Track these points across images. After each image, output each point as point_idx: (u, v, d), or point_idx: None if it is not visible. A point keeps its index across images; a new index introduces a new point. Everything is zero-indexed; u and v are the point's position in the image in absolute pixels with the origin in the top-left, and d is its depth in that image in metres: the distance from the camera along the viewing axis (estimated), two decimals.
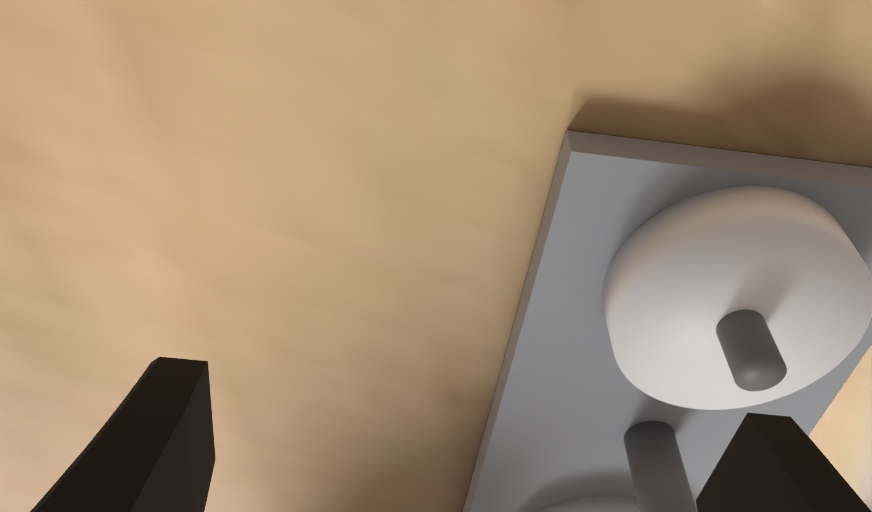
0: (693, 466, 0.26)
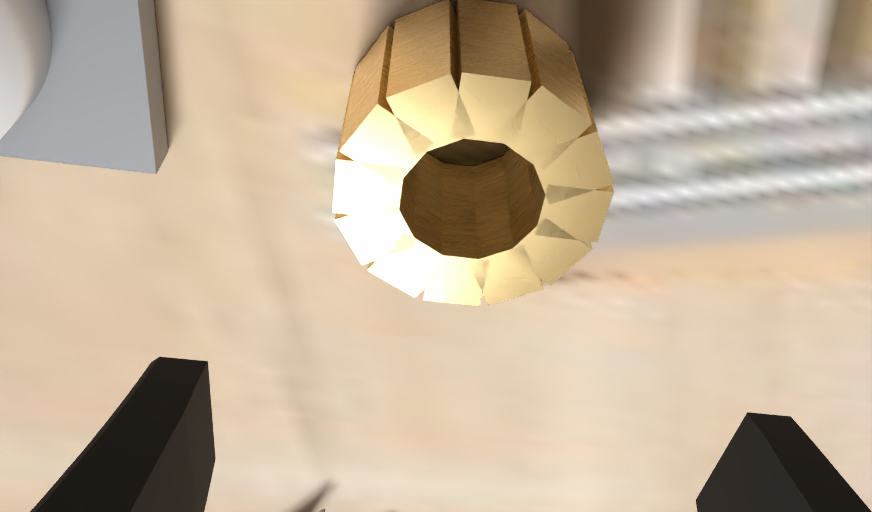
0: None
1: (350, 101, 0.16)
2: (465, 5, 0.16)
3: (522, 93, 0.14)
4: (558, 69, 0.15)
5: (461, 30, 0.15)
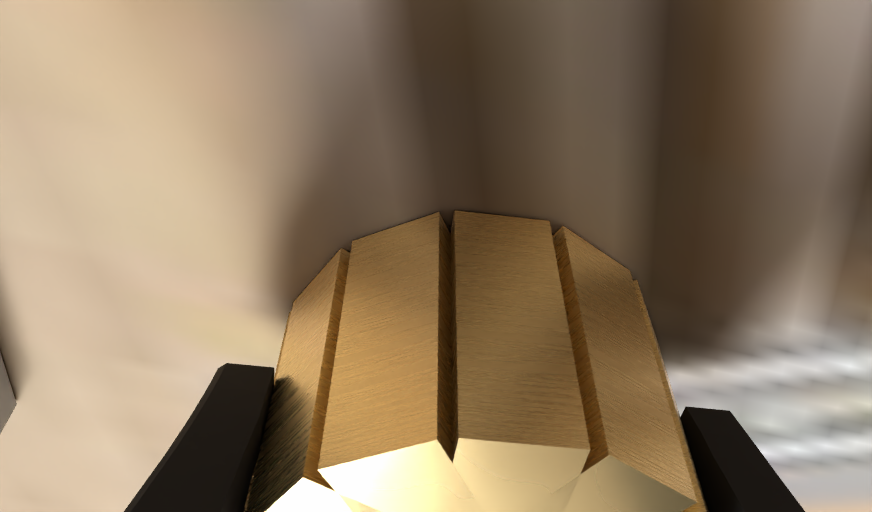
0: None
1: (275, 391, 0.10)
2: (466, 231, 0.10)
3: (570, 464, 0.07)
4: (628, 368, 0.09)
5: (458, 303, 0.09)
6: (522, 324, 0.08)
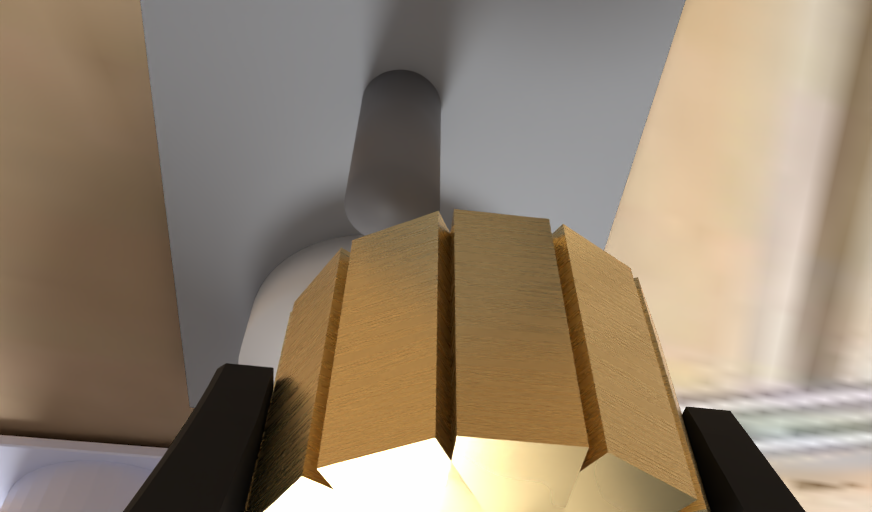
0: (485, 170, 0.17)
1: (275, 391, 0.10)
2: (465, 230, 0.10)
3: (570, 462, 0.07)
4: (627, 365, 0.09)
5: (457, 301, 0.09)
6: (521, 322, 0.08)
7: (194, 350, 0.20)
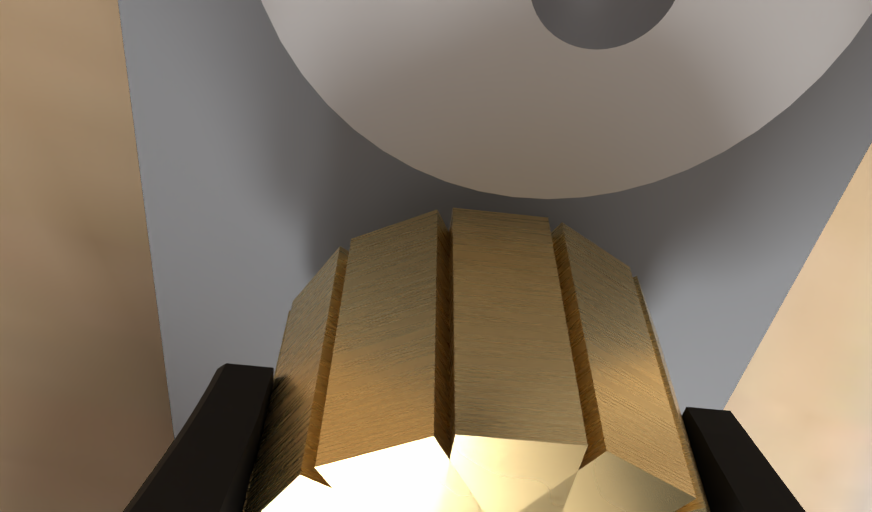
0: None
1: (274, 390, 0.10)
2: (465, 228, 0.10)
3: (568, 461, 0.07)
4: (627, 364, 0.09)
5: (456, 300, 0.09)
6: (520, 321, 0.08)
7: None
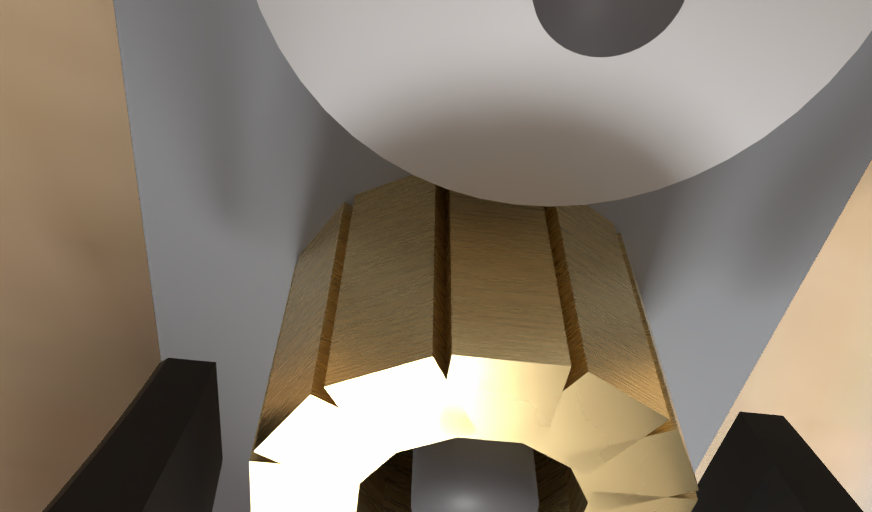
0: None
1: (283, 332, 0.10)
2: None
3: (554, 381, 0.08)
4: (608, 303, 0.09)
5: (453, 244, 0.09)
6: (511, 262, 0.09)
7: None
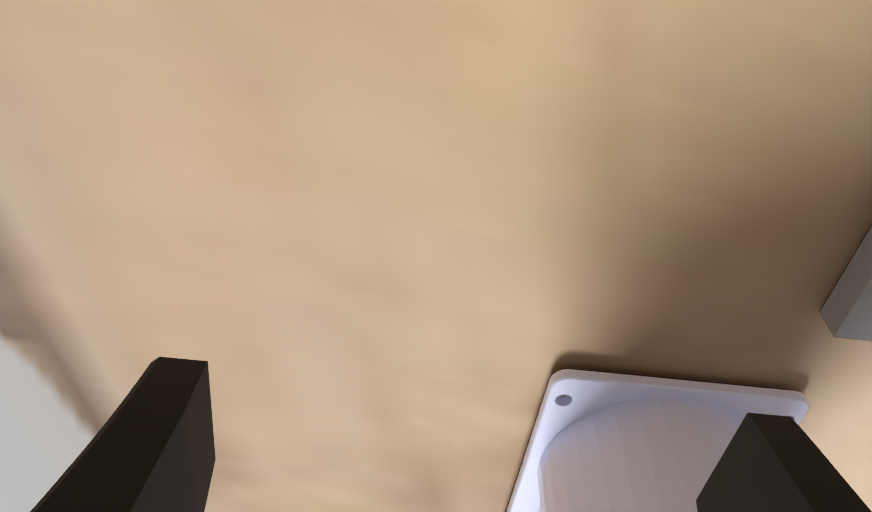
0: None
1: None
2: None
3: None
4: None
5: None
6: None
7: None
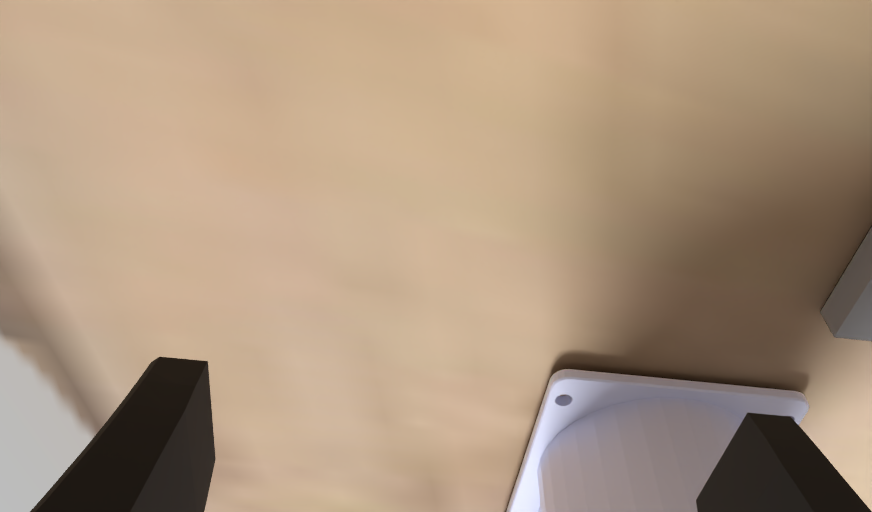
0: None
1: None
2: None
3: None
4: None
5: None
6: None
7: None
